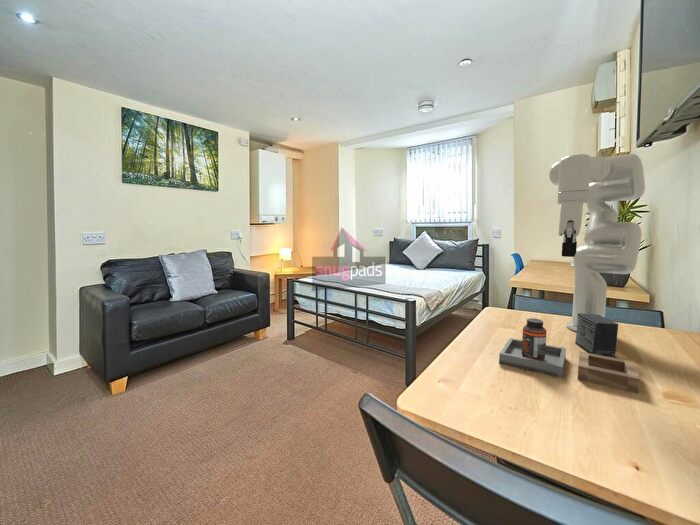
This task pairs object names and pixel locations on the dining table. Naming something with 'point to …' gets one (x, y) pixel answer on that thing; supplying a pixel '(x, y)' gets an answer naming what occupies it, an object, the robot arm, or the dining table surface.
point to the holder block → (608, 371)
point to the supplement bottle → (534, 340)
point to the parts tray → (548, 366)
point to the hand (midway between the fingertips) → (569, 255)
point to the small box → (597, 334)
